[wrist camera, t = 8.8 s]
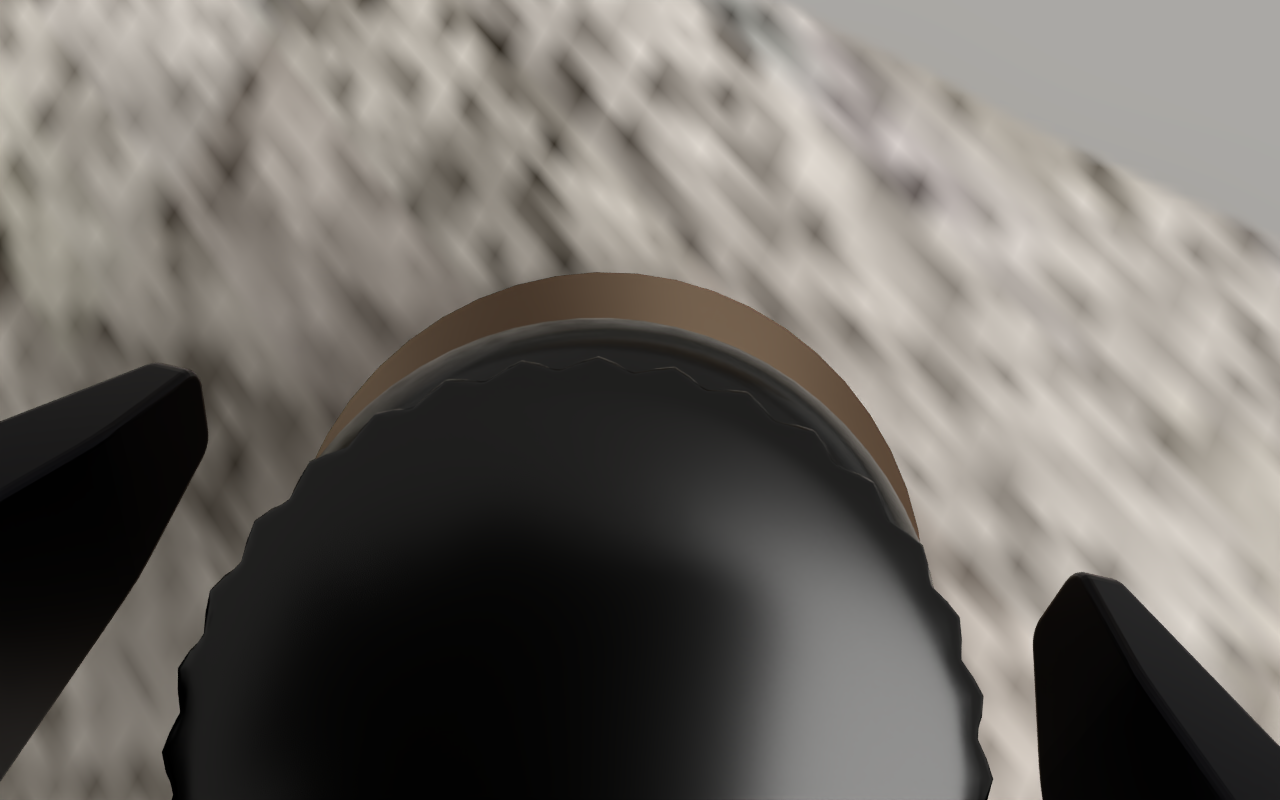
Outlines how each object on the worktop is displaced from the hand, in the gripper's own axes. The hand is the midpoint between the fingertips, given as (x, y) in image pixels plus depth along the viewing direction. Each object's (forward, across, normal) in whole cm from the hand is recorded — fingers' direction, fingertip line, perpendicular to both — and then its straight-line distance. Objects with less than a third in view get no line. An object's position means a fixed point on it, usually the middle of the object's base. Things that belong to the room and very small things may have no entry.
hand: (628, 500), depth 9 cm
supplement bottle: (+5, 0, +7) cm, 8 cm away
